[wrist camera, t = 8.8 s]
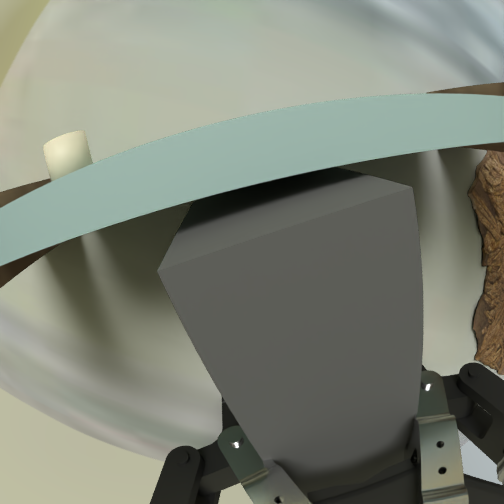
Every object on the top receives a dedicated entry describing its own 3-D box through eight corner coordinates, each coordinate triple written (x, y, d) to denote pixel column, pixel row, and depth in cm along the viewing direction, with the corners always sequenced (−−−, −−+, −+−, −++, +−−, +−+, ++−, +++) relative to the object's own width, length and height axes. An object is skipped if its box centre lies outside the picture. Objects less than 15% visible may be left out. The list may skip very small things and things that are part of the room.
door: (421, 133, 13) (525, 140, 7) (83, 214, 13) (-5, 268, 7) (410, 78, 12) (509, 56, 6) (66, 156, 12) (-34, 173, 6)
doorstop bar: (193, 201, 12) (157, 271, 5) (313, 162, 12) (412, 186, 5) (291, 438, 17) (312, 527, 11) (362, 413, 17) (401, 495, 11)
